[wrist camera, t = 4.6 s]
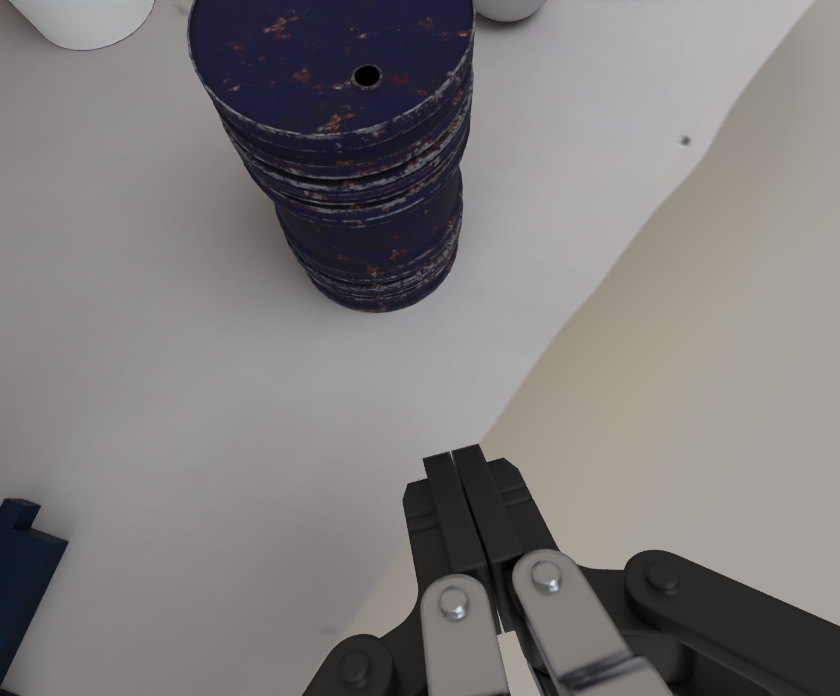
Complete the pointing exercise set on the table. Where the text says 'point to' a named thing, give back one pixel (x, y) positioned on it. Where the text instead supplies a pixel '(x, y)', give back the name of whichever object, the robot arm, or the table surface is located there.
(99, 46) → the bracket
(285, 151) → the navy blue cylinder
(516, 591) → the robot arm
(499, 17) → the silver bottle
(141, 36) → the table surface
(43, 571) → the blocky voxel figure
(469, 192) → the table surface
